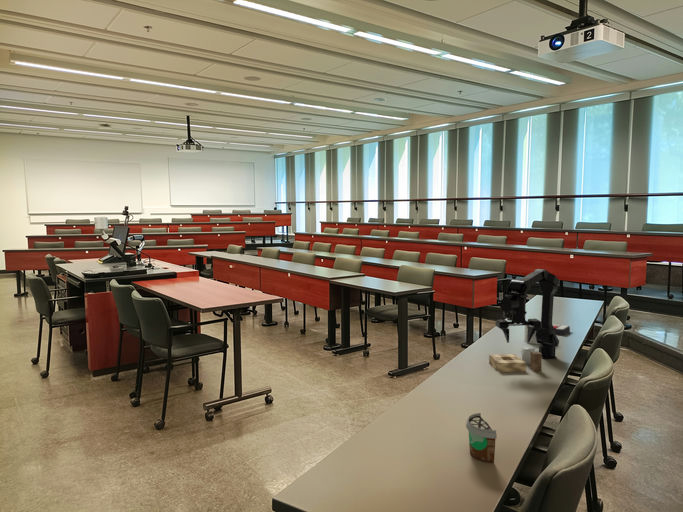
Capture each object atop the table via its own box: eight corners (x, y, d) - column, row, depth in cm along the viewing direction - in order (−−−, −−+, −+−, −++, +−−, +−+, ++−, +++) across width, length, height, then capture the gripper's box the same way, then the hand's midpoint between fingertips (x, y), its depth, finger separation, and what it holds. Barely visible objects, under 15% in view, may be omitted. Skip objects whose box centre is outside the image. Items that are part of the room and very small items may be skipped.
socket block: (514, 362, 215) (514, 354, 215) (525, 371, 203) (525, 362, 203) (489, 363, 215) (489, 354, 214) (498, 371, 203) (499, 363, 202)
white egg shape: (531, 360, 217) (531, 346, 216) (536, 364, 212) (537, 349, 211) (519, 361, 217) (520, 346, 216) (524, 365, 211) (525, 350, 211)
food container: (459, 444, 140) (460, 413, 139) (479, 443, 141) (479, 412, 140) (474, 466, 128) (475, 432, 127) (496, 465, 128) (496, 431, 128)
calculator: (543, 322, 277) (569, 325, 267) (543, 329, 278) (570, 332, 267) (536, 325, 269) (563, 328, 259) (536, 333, 270) (563, 336, 259)
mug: (524, 343, 245) (524, 325, 244) (524, 338, 255) (524, 320, 254) (552, 346, 240) (552, 327, 239) (551, 340, 250) (551, 322, 249)
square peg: (537, 368, 206) (538, 351, 205) (541, 371, 203) (541, 353, 202) (530, 369, 206) (530, 351, 205) (533, 371, 203) (534, 353, 202)
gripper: (531, 303, 213) (531, 336, 214) (491, 304, 213) (491, 337, 214) (542, 309, 202) (541, 343, 203) (500, 310, 201) (499, 344, 203)
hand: (518, 342), depth 206 cm, fingers open, 9 cm apart
